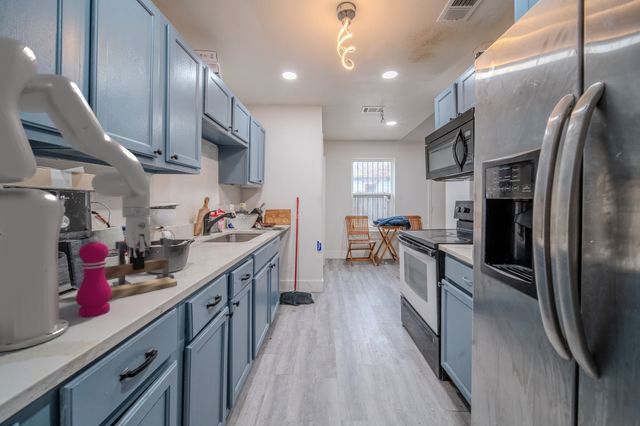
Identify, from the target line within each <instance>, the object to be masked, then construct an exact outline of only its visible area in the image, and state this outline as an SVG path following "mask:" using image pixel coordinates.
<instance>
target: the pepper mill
mask: <svg viewBox="0 0 640 426" xmlns="http://www.w3.org/2000/svg"><path fill="white" fill-rule="evenodd" d="M88 240H89V243H85V244H84V245H82V246H81V247H80V249H78V250H79V251H78V257H79V259H80V260H82V262H81V269H83V278H82V281H81V284H80V286H79V288H78V290H77V292H76V295H75V302H76V303H77V304H78V305H79V306H80V307H79V308H78V316H79V317H80V318H93V317H98V316H101V315H104V314H106V313H108V312H110V310H111V307H110V306H111V303H110V302H108V301H109V299H110V298H111V297H112V290H111V286H110V284H109V282H108V279H106V277H105V273H104V267H107V260H106V258H107V257H108V256H109V253H110V252H109V251H110V249H109V248H108V246H107V245H106V244H104V243H102V242H99V238H98V237H97V236H91V237H90V238H89V239H88ZM110 300H111V299H110Z"/></svg>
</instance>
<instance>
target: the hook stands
mask: <svg viewBox="0 0 640 426" xmlns="http://www.w3.org/2000/svg"><path fill="white" fill-rule="evenodd" d="M114 243H115V244H114V248H115V249H114V250H116V251H117V265H123V264H126V251H128V250H129V246H127V245H126V241H124V240H121V241H115V242H114ZM159 246H162V247H161V248H162V249H161V251H162V253H161V255H162V256H161V257H162V258H161V259H164V258H166V259H168V268H166V269H161V270H162V273H159V274H157V275H156V279H160V278H166V277H169V278H171V279H173V280H174V279H175V275H174V274H172V273H170V272H169V269H170V268H169V266H170V265H169V263H170V262H169V258H170V257H169V247H172V238H168V237H160V238H159ZM111 283H112V287H116V286H122V285H127V284H132V282H131V281H128V280H127V279H126V276H120V277H117V281H113V282H111Z"/></svg>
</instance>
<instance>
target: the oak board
mask: <svg viewBox="0 0 640 426" xmlns="http://www.w3.org/2000/svg"><path fill="white" fill-rule="evenodd" d="M176 286H178V281H177V280H176V279H174V278H173V279H171V278H169V277H166V278H160V279H159V278H156V279H150V280H145V281H139V282H134V283H131V284H127V285H122V286H116V287H114V286H112V287H111V286H110V287H111V290H112V297H111V298H110V299H109V300H114V299H119V298H122V297H123V298H124V297H128V296H134V295H138V294H143V293H148V292H152V291H158V290H162V289H167V288H172V287H176ZM109 300H108V301H109Z"/></svg>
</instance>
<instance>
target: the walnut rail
mask: <svg viewBox="0 0 640 426" xmlns="http://www.w3.org/2000/svg"><path fill="white" fill-rule="evenodd" d="M144 262H145V268H144V269H139V270H133V263H130V262H129V263H125V264H123V265H118V264H117V265H116V264H115V265H110V266H105V267H104V273H105V277H106V280H108V279H113V278H118V277H120V276H125V277H126V276H130V275H131V276H132V275H137V274H143V273H147V272H153V271H160V270H162V269H166V268H168V259H166V258H164V259H162V258H157V259H152V260H146V261H145V260H144Z"/></svg>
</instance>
